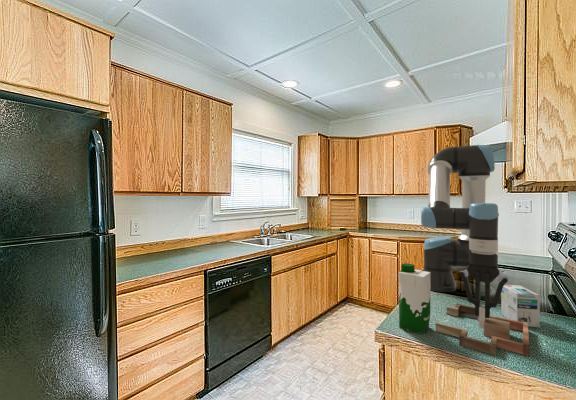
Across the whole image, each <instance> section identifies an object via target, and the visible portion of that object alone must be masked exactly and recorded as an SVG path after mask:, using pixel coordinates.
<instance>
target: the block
mask: <svg viewBox="0 0 576 400" xmlns="http://www.w3.org/2000/svg"><path fill="white" fill-rule="evenodd" d="M510 330H511V329H510V322H506V321H502V320H497V319H493V318H486V319H485V322H484V329H483V336H484V337H487V338H490V339H491V338H492V336H495V337H499V338H503V339H507V340H510V333H511V331H510Z"/></svg>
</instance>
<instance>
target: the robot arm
mask: <svg viewBox="0 0 576 400" xmlns="http://www.w3.org/2000/svg"><path fill="white" fill-rule="evenodd" d="M495 164H496V163H495V157H494V151H493V149H492V147H491V146H490V145H488V144H477V145H476V144H475V145H474V144H473V145H462V146H460V145H459V146H450V147H444V148H442V149H441V150H439V151H438V152H436V153H435V154H434V155H433V156H432V158H431V159H430V160H429V162H428V165H427V173H428V175H429V181H428V182H429V184H428V201H427V206H424V207H422V208H421V214H420V220H421V221H420V223H421V224H420V225H421V226H422V227H424V228H430V229H450V230H452V229H454V230H461V234H460V235H459V236H458V237H457V240H453V238H452V237H451V236H436V237H429V238H427V239H425V240H424V244H423V245H424V247H423V251H424V253H423V271H426V272H430V283H431V291H432V292H439V293H453V292H455V291H457V283H456V281H455V280H456V279H455V277H454V275H453V267H455V268H463V269H464V268H466V269H464V270H460V271H459V273H458V274H459V276H460V278H461V279H462V281H463V285H464V286H463V287H464V289H465V293H466V296H467V301H468V302H469V303H470V304H472V305H474V307H475V315H476V316H479V321H478V328H479V329H482V330H484V322H485V319H486V318H489V317H490V315H491V308H497V306H498V304H499V300H500V298H501V292H502V289H503V286H504V285H507V284H506V283H508V281H509V278H508V277H507V276H505V275H503V274H502V273H500V272H501V271H500V269H499V267H498V266H499V263H498V262H499V261H498V257H499V255H498V254H497V253H498V251H499V249H498V248H499V237H498V233H499V232H498V231H499V215H500V213H499V207H498V204H497V203H493V202H492V203H490V202H486V184H487V182H486V181H487V179H488V178H490V177H491V173H493V172H494V171H495V166H496V165H495ZM453 173H454V174H458V179H460V180H461V181H462V184H461V186H462V187H461V191H462V193H461V194H462V195H461V196H462V197H461V207H451V179H450V177H451V175H452V174H453ZM469 275H470V276H471V278H472V279H473V280H474V296H473V291H472V287H471V284H470V280H469ZM496 278H498V279H497V281H498V285H497V287H496V291H495V294H494V297H493V300H492V301H491V283H492V282H493V281H494V280H495V279H496ZM482 283H484V304H481V285H482Z"/></svg>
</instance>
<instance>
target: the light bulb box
mask: <svg viewBox="0 0 576 400" xmlns="http://www.w3.org/2000/svg"><path fill="white" fill-rule="evenodd" d="M500 298H501V301H500V303H501V305H500V306H501V310H500V313H501V314H502V315H503V316H504V315H505V316H504V317H505V318H506V319H510V320H515V321H520V322H524V323H528V327H530V328H531V327H533V328H540V325H541V324H540V322H541V321H540V320H541V319H540V310H541V309H540V304H541V303H540V302H541V301H540V298H541V297H540V294H538V293H536V292H534V291H532V290H530V289H528V288H527V287H524V286H523V285H515V284H514V285H513V284H505V285H504V286H503V289H502V292H501V295H500Z"/></svg>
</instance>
